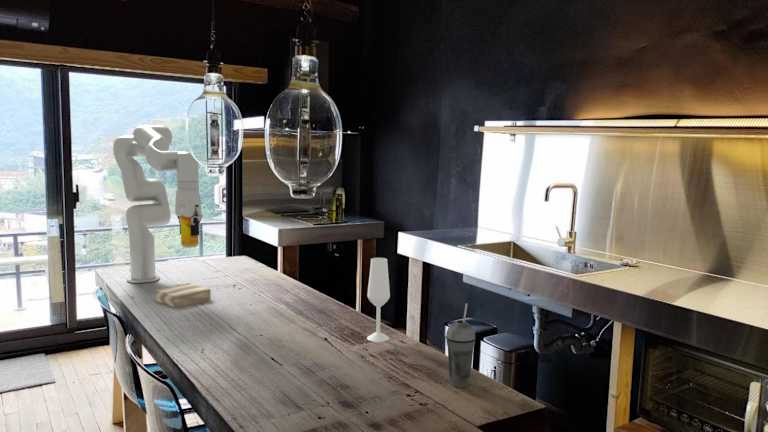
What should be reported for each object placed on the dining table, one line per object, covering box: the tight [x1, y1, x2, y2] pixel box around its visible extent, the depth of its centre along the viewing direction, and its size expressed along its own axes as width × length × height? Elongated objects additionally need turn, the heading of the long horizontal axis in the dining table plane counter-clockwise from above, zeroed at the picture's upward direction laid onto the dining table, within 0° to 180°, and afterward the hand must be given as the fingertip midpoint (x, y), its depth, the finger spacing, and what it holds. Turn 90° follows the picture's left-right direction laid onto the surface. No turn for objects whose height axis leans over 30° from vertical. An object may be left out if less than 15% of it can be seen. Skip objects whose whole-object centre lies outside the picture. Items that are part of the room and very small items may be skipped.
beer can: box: [180, 209, 200, 249], centre depth 212 cm, size 6×6×15 cm
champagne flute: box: [366, 257, 391, 343], centre depth 170 cm, size 7×7×24 cm
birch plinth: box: [154, 282, 212, 309], centre depth 210 cm, size 14×14×4 cm
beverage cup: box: [445, 302, 477, 388], centre depth 138 cm, size 7×7×20 cm
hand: (189, 234), depth 212 cm, fingers closed on beer can, 6 cm apart
